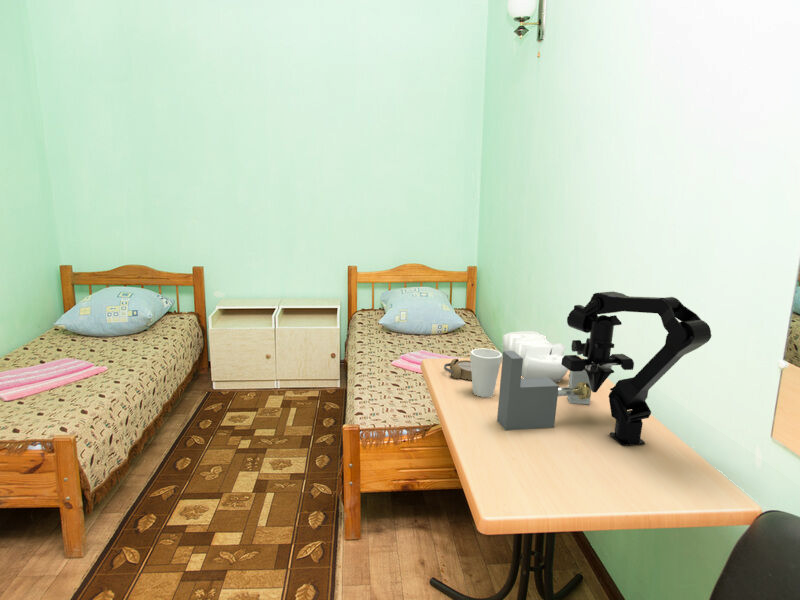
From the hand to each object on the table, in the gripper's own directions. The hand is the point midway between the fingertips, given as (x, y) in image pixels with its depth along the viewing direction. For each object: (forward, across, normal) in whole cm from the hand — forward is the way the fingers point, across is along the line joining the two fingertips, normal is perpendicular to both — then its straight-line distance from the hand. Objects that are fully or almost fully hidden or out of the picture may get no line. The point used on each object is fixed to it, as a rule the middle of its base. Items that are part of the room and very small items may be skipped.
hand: (593, 391), depth 156 cm
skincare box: (+9, -3, -13) cm, 16 cm away
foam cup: (+9, +24, -22) cm, 33 cm away
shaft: (+2, +9, 0) cm, 9 cm away
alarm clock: (+9, +24, -38) cm, 46 cm away
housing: (+8, +20, 0) cm, 21 cm away
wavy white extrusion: (+9, -2, -42) cm, 43 cm away
